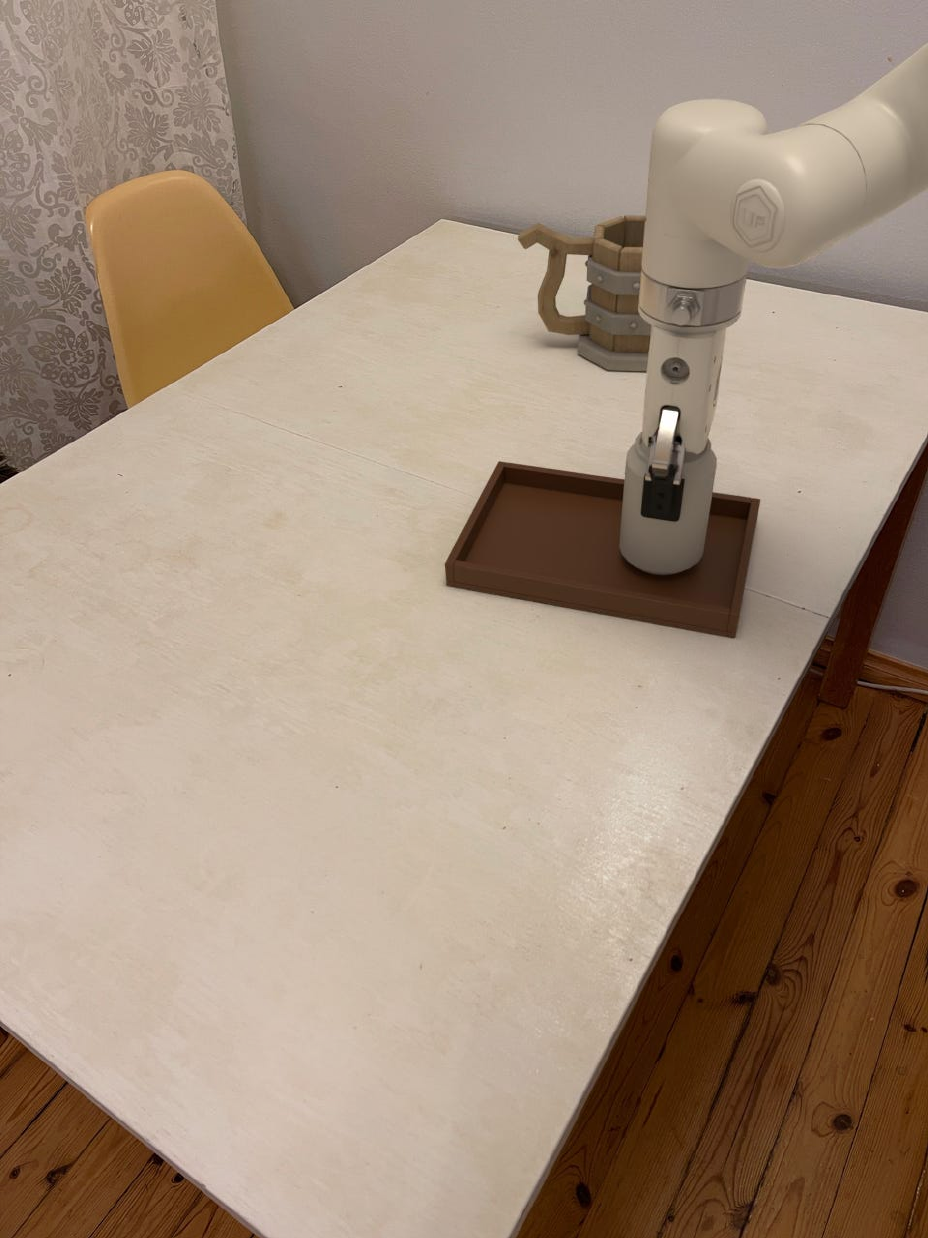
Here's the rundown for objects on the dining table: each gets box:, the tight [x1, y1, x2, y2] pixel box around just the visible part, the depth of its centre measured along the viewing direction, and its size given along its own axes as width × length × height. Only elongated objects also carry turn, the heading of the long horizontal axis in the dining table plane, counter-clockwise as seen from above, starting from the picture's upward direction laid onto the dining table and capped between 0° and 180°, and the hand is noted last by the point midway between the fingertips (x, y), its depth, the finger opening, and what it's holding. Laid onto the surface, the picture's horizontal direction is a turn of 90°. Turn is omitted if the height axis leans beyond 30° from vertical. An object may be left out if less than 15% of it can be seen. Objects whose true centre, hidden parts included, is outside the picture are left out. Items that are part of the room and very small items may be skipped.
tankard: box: [517, 214, 652, 373], centre depth 113 cm, size 20×13×15 cm, turn 82°
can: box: [619, 431, 718, 575], centre depth 84 cm, size 8×8×12 cm
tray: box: [444, 460, 761, 639], centre depth 89 cm, size 26×17×3 cm, turn 72°
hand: (668, 488), depth 83 cm, fingers closed on can, 7 cm apart
